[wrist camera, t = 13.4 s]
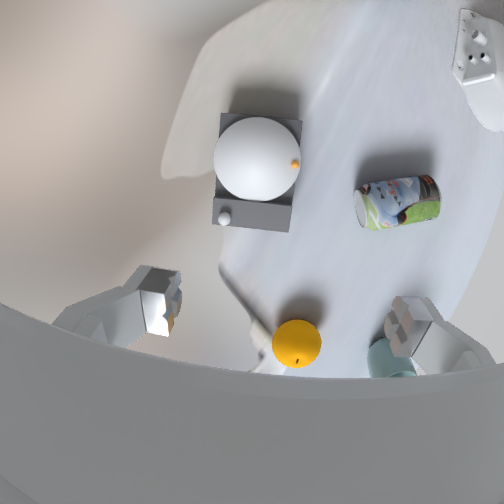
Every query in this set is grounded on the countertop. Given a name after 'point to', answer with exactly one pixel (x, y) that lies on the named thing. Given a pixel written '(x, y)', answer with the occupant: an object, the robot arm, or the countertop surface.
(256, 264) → the countertop surface
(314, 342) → the apple
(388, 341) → the cup
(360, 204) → the beverage can
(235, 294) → the countertop surface
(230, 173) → the body block
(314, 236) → the countertop surface
